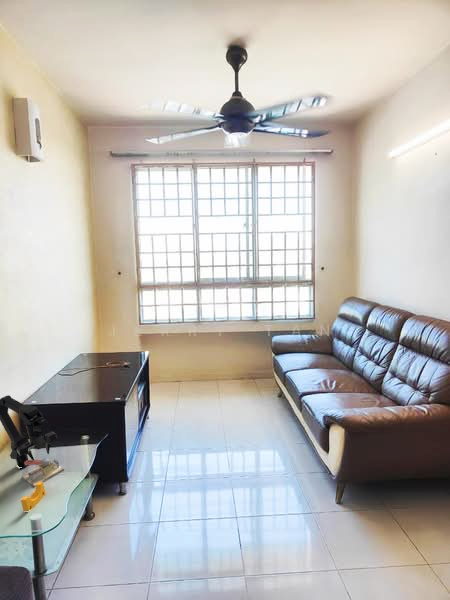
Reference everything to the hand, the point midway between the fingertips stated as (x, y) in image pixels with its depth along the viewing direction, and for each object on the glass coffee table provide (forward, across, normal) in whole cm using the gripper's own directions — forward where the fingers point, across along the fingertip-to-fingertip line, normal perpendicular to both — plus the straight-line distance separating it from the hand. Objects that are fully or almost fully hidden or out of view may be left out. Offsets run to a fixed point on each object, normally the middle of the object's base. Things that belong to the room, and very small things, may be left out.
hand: (41, 457), depth 200 cm
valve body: (+5, -2, -8) cm, 10 cm away
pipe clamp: (+5, -14, -28) cm, 32 cm away
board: (+6, -2, -6) cm, 9 cm away
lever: (+1, -3, -4) cm, 5 cm away
